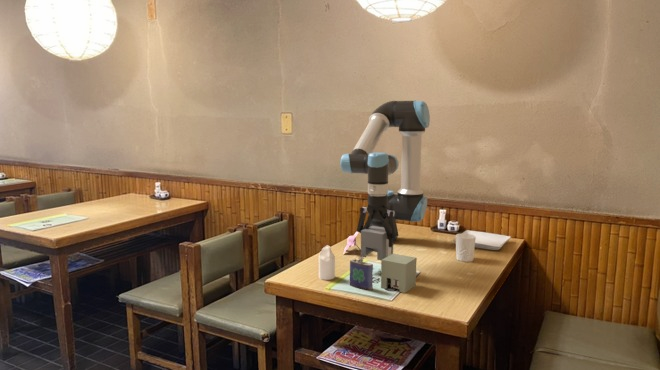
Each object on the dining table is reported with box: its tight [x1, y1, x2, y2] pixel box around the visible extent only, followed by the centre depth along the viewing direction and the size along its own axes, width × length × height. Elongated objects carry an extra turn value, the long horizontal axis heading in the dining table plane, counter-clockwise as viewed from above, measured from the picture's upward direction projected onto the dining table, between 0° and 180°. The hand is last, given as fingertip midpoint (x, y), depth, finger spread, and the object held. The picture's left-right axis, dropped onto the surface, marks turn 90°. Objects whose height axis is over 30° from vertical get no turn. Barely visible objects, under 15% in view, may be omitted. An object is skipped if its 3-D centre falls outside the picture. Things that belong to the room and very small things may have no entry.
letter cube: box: [390, 279, 400, 290], centre depth 172 cm, size 4×4×4 cm
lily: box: [342, 230, 361, 256], centre depth 214 cm, size 12×12×10 cm
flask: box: [349, 256, 374, 291], centre depth 171 cm, size 9×3×11 cm, turn 51°
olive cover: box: [380, 253, 418, 294], centre depth 172 cm, size 9×9×10 cm
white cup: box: [455, 233, 476, 263], centre depth 204 cm, size 8×8×10 cm
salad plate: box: [453, 229, 511, 251], centre depth 228 cm, size 21×21×3 cm
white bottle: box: [318, 244, 336, 281], centre depth 181 cm, size 6×12×6 cm
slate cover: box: [360, 226, 394, 262], centre depth 187 cm, size 9×9×10 cm
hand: (377, 252), depth 188 cm, fingers closed on slate cover, 9 cm apart
